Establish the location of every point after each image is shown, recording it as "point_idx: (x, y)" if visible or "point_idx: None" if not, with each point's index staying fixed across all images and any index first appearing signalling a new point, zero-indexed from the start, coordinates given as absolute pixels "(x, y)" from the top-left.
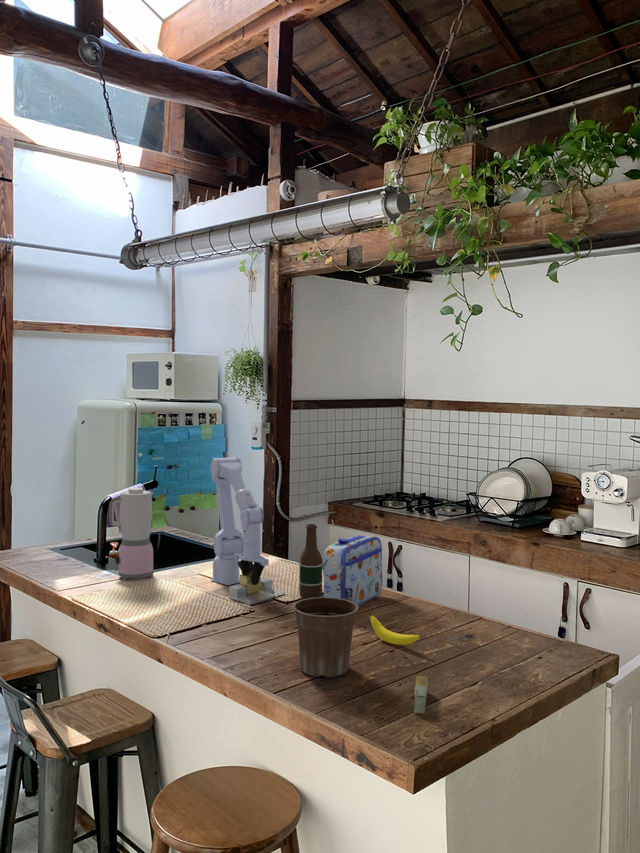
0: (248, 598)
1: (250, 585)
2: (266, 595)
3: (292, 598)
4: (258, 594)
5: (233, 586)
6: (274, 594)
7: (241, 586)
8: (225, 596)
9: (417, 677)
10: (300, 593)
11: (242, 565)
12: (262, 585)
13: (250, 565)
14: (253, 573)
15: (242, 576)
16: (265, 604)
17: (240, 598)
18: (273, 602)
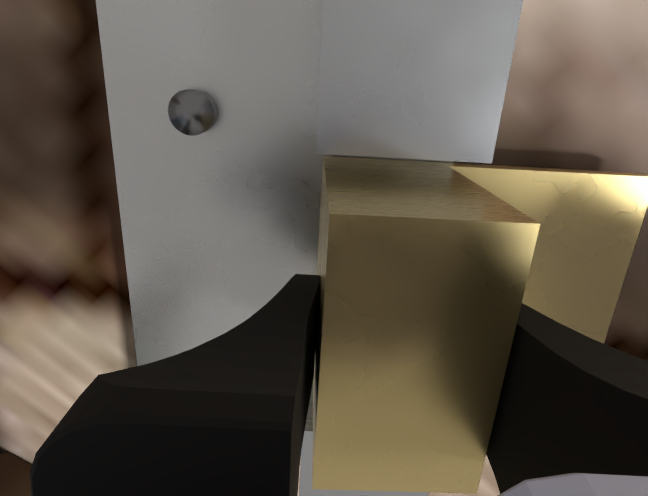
0: (222, 74)
1: (321, 238)
2: (175, 281)
3: (27, 396)
4: (257, 255)
5: (481, 27)
6: (151, 349)
7: (381, 115)
8: (552, 18)
9: None
10: (4, 479)
11: (641, 415)
12: None
13: (226, 414)
14: (237, 335)
15: (453, 214)
16: (15, 111)
17: (291, 4)
18: (25, 214)
